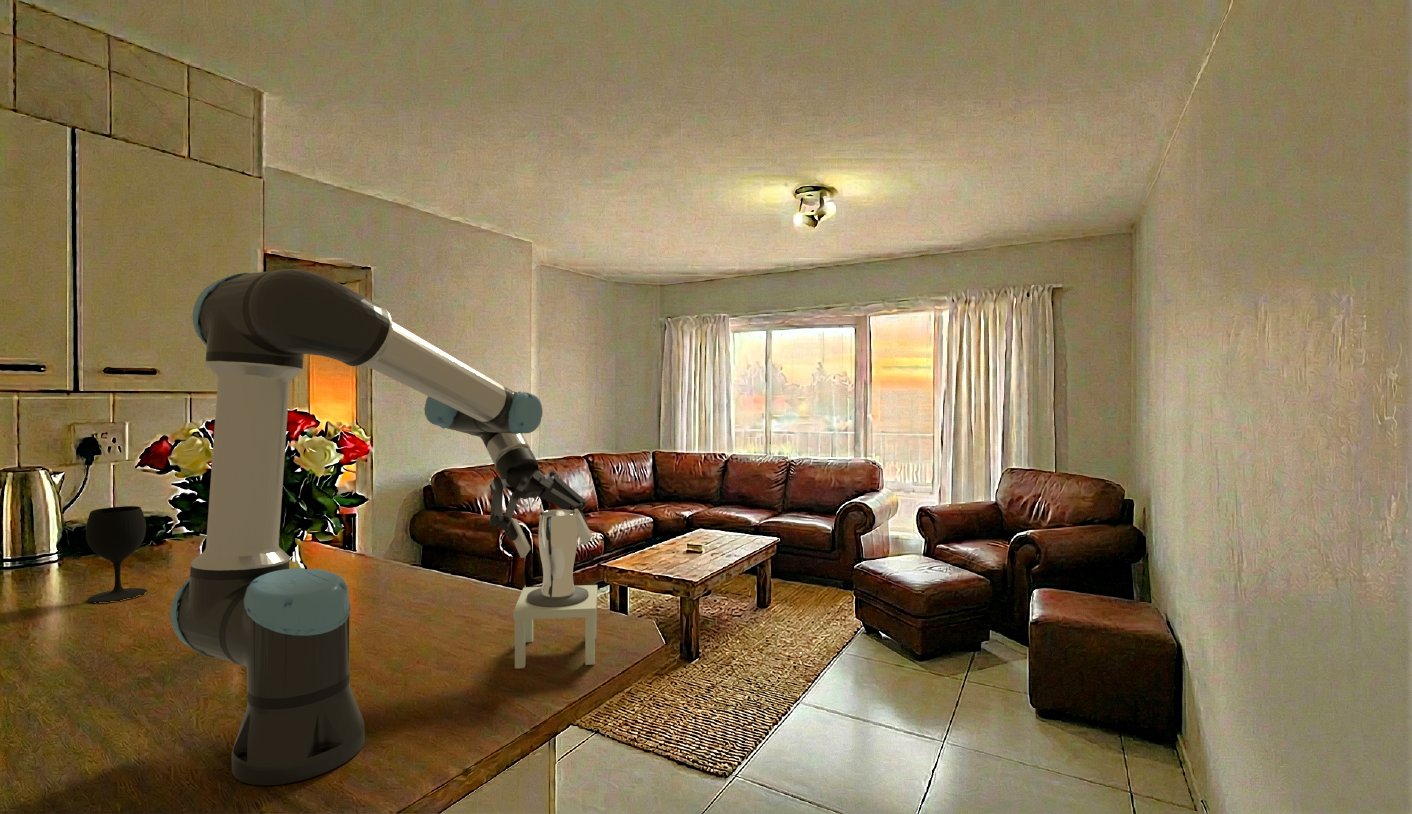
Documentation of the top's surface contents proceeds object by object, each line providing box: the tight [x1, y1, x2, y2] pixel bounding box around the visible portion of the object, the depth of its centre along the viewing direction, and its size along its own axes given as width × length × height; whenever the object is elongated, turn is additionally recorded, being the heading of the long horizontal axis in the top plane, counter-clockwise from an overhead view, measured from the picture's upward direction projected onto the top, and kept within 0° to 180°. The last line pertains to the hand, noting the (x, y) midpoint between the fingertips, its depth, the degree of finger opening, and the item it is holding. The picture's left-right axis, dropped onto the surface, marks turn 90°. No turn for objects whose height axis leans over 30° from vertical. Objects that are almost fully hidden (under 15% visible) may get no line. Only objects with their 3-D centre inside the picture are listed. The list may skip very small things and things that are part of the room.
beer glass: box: [538, 508, 578, 599], centre depth 125 cm, size 7×7×15 cm
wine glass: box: [85, 505, 148, 604], centre depth 155 cm, size 10×10×20 cm
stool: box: [512, 584, 598, 669], centre depth 125 cm, size 14×14×11 cm
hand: (558, 546), depth 125 cm, fingers open, 13 cm apart
